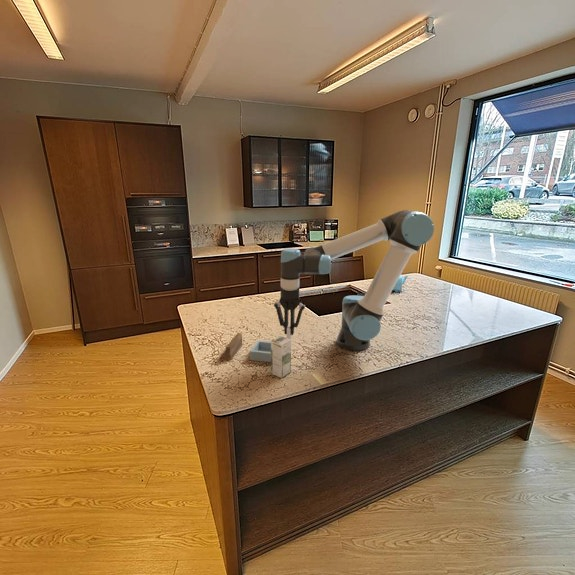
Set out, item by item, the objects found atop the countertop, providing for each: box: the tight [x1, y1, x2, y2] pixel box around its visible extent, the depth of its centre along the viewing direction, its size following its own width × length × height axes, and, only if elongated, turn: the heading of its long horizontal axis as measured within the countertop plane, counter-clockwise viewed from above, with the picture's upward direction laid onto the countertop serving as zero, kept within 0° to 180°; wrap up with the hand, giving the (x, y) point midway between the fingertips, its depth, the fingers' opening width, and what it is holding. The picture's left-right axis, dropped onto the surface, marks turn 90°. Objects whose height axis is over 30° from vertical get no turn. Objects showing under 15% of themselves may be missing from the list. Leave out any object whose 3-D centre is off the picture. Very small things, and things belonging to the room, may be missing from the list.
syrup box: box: [270, 335, 292, 379], centre depth 124 cm, size 6×6×14 cm
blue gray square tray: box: [249, 340, 271, 363], centre depth 139 cm, size 10×10×4 cm
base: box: [219, 332, 243, 361], centre depth 142 cm, size 5×14×6 cm, turn 167°
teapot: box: [392, 274, 411, 293], centre depth 227 cm, size 18×16×13 cm
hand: (289, 341), depth 135 cm, fingers closed
